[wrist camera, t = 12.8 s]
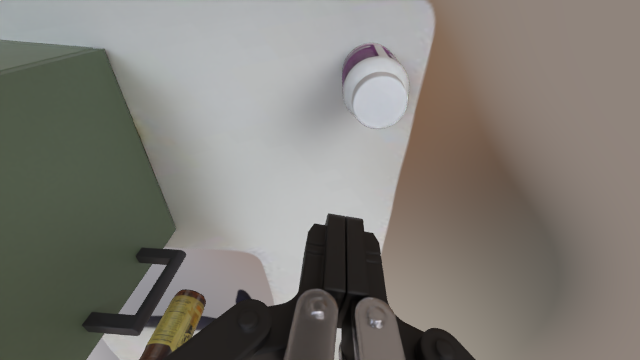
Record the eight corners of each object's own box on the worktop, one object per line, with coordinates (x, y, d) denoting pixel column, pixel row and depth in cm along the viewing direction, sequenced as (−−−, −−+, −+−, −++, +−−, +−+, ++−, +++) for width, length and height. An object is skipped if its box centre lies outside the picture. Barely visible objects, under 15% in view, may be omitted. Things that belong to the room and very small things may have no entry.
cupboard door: (157, 50, 28) (-268, 194, 8) (211, 231, 43) (103, 433, 23) (94, 48, 28) (-455, 182, 9) (170, 228, 43) (29, 425, 24)
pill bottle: (339, 95, 29) (339, 135, 21) (344, 40, 26) (345, 63, 18) (390, 99, 29) (408, 140, 21) (401, 43, 26) (426, 68, 18)
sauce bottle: (203, 308, 57) (147, 437, 40) (173, 299, 55) (103, 428, 39) (211, 293, 53) (153, 427, 37) (179, 282, 52) (104, 417, 36)
